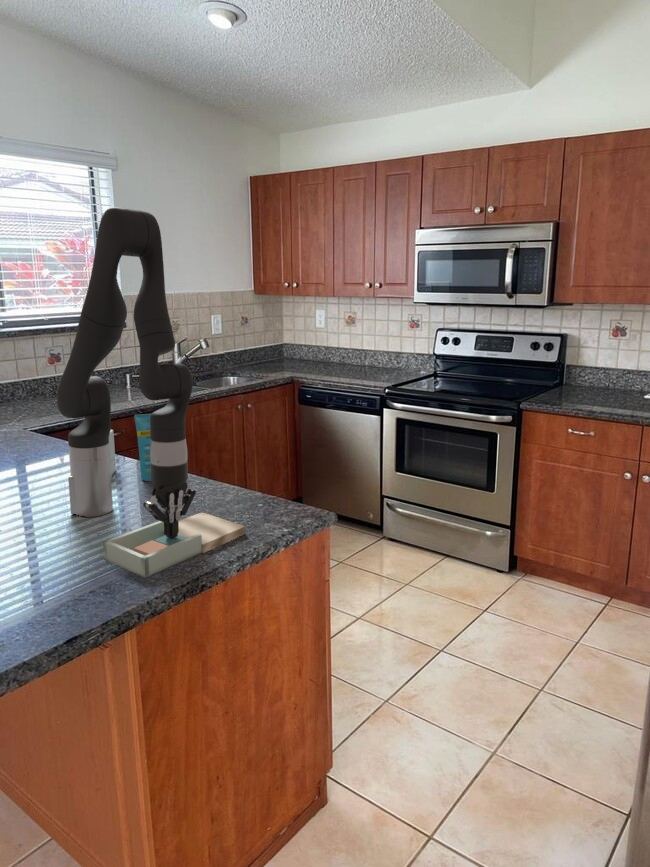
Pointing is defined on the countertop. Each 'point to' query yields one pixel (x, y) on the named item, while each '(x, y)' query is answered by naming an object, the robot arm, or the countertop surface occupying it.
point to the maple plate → (210, 530)
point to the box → (125, 556)
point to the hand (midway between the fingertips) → (171, 536)
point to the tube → (144, 444)
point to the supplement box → (112, 452)
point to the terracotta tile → (149, 547)
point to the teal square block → (170, 540)
